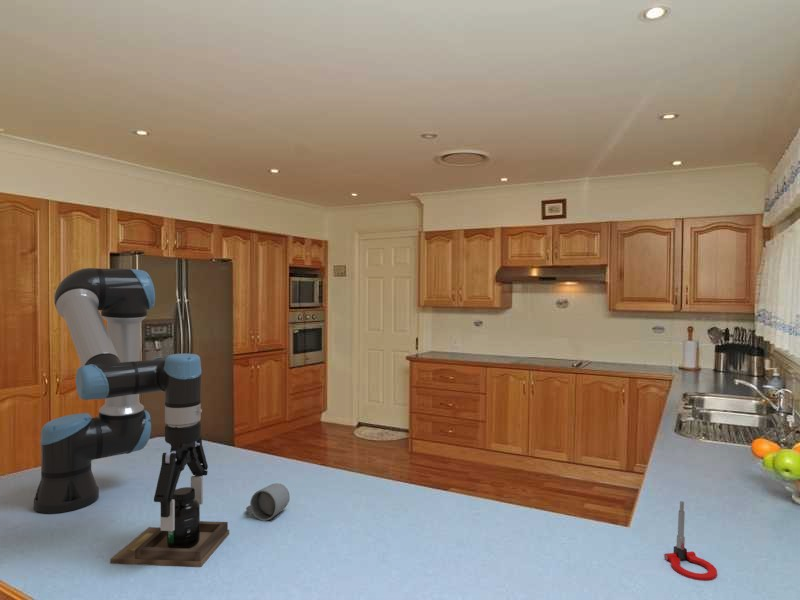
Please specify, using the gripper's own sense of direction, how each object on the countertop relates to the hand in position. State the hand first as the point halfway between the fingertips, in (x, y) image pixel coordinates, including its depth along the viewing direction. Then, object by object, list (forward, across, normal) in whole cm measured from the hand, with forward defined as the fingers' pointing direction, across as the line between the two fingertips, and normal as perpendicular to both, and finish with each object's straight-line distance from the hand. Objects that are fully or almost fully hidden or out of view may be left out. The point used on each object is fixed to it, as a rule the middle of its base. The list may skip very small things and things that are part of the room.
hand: (183, 516), depth 119 cm
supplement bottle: (+6, 0, 0) cm, 6 cm away
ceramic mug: (+7, +19, -13) cm, 24 cm away
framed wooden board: (+7, 0, +2) cm, 8 cm away
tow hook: (+6, -1, -111) cm, 111 cm away
